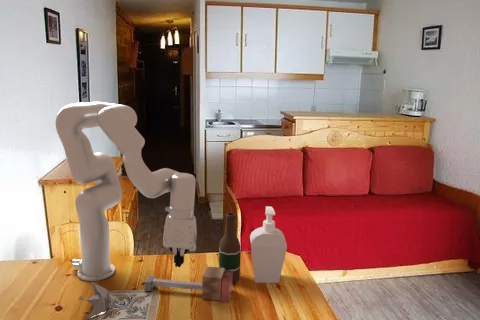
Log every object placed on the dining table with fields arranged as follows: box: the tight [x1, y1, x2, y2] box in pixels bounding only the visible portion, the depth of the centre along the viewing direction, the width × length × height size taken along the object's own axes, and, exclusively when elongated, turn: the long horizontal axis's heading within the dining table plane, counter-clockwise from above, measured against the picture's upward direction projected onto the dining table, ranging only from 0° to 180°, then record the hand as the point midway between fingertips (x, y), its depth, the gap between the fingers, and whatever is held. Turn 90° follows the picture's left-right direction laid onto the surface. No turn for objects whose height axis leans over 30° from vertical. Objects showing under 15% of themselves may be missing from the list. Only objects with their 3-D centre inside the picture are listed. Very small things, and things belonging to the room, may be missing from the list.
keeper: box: [201, 266, 225, 301], centre depth 130 cm, size 6×7×8 cm
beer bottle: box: [218, 212, 242, 283], centre depth 140 cm, size 8×8×24 cm
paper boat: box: [78, 281, 111, 320], centre depth 120 cm, size 12×6×9 cm
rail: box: [143, 270, 233, 304], centre depth 131 cm, size 28×8×7 cm, turn 84°
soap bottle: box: [249, 205, 288, 284], centre depth 141 cm, size 12×10×26 cm
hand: (178, 265), depth 130 cm, fingers closed
